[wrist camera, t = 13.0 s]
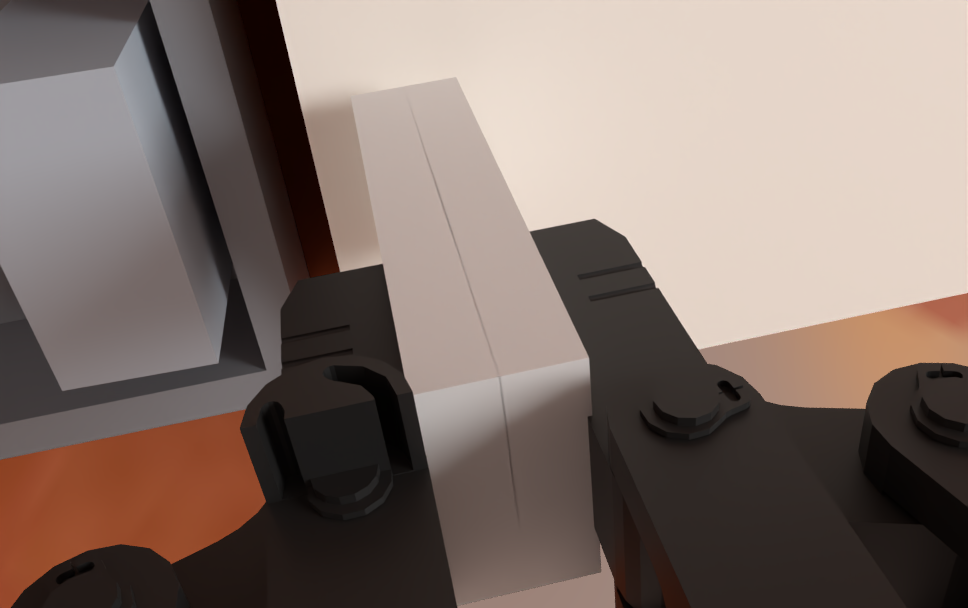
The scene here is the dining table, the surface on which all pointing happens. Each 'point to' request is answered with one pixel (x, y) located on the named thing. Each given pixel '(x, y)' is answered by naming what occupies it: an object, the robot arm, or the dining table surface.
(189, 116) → the box
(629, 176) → the raised board
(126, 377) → the slate tile
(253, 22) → the dining table surface
